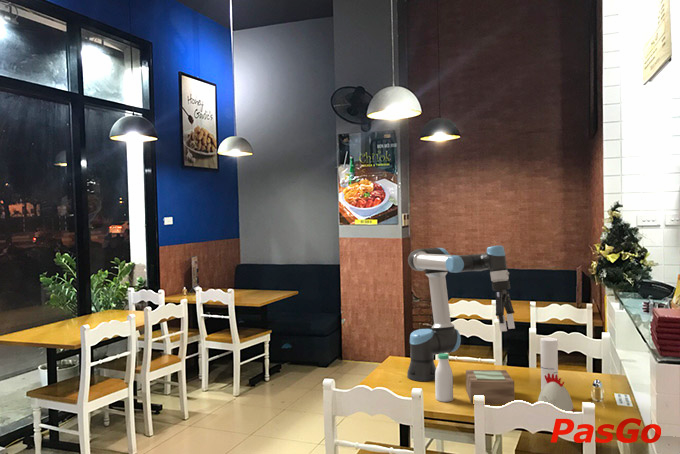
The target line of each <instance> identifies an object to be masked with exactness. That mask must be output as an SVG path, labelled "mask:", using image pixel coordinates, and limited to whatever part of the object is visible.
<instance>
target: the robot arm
mask: <svg viewBox="0 0 680 454" xmlns="http://www.w3.org/2000/svg"><path fill="white" fill-rule="evenodd" d="M506 255H507V254H506V252H505V248H504V246H503V245H491V246H487V248H486V252H484V253H475V254H459V255H458V254H450V253H449V252H448V251H447V249H445V248H443V247H431V248H430V247H429V248H416V249H415V250H413V251H411V252H410V253H409V255H408V258H407V262H408V265H409V267H410V268H411V270H413V271H416V272H424V274H425V276H427V278H428V283H429V291H430V300H431V308H432V310H431V311H432V316H433V317H432V319H433V325H432V326H431V328H419V329H415V330H413V331H412V332H411V333H410V335H409V350H410V351H409V352H410V355H409V356H410V362H409V366H408V368H407V372H406V374H407V378H408V379H409V380H412V381H415V382H431V381H435V371H436V368H437V366H436V364H435V359H434V357H435V356H436V355H438V354H441V353H445V354H449V353H450V354H451V353H453V352H456V351H458V350H459V348H460V345H461V340H462V338H461V337H462V336H461V334H460V333H459V330H458V329H457V328H455V325H454V324H453V323H452V321H451V313H450V307H449V306H450V304H449V298H448V297H449V296H448V289H447V280H446V275H447V274H448V272H449V273H454V274H456V273H464V272H483V271H487V270H489V275H490V281H491V288H492V291H494V292H495V293H494V295H495V316H496V317H497V319H498V325H499V332H508V330H511V329H516V326H515V320H514V314H515V310H514V307H513V303H512V301H511V298H510V297H511V296H510V292H509V291H507V290H510V289H511V283H510V280H509V278H510V277H509V275H510V272H509V271H508V265H507V264H508V263H507V258H506V257H507V256H506ZM505 313H506V314H505ZM504 314H505V315H504ZM507 327H508V329H507Z"/></svg>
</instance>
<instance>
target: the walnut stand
mask: <svg viewBox="0 0 680 454" xmlns="http://www.w3.org/2000/svg"><path fill="white" fill-rule="evenodd" d="M465 391H466V394H467V397H468V399H469V401H470V404H471V405H474V404H473V396H474V395H484V396H485V404H484V405H499V404H502V405H504V404H506V403H508V402H511V401H514V400H515V399H516V398H515V397H516V396H515V381H514V380H513V378H512V377H511V375H510V374H509V372H508V371H507V369H465Z"/></svg>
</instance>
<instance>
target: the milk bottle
mask: <svg viewBox="0 0 680 454" xmlns="http://www.w3.org/2000/svg"><path fill="white" fill-rule="evenodd" d="M437 355H438V356H437V357H438V363H437V366H436V371H435V380H434V385H435V386H434V387H435V388H434V389H435V393H434V394H435V396H434V397H435V400H436V401H438V402H442V403H446V402H447V403H448V402H452V401H453V400H454V380H453V379H454V376H453V370H452V367H451V365H450V363H449V360H450V359H449V358H450V355H449V353H441V354H437Z"/></svg>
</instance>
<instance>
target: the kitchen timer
mask: <svg viewBox="0 0 680 454" xmlns="http://www.w3.org/2000/svg"><path fill="white" fill-rule="evenodd" d="M545 379H546V381H547V384H546V385H545V386H544V387H543V389H542V390H541V389H540V392H539V396H538V399H537V402H538V401H544V402H548V403H551V404H553V405H554V406H556V407H558V408H560V409H562V410H565V411H574V404H573V401H572V398H571V396H570V393H569V392H568V390H567V388H565V386H564V384H565V381H562V383H561V380H562V377H559V376H558V377H557V375H555V379H554V374H552V377H550V374H549V373H548V378H547V376H546V375H545Z"/></svg>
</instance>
